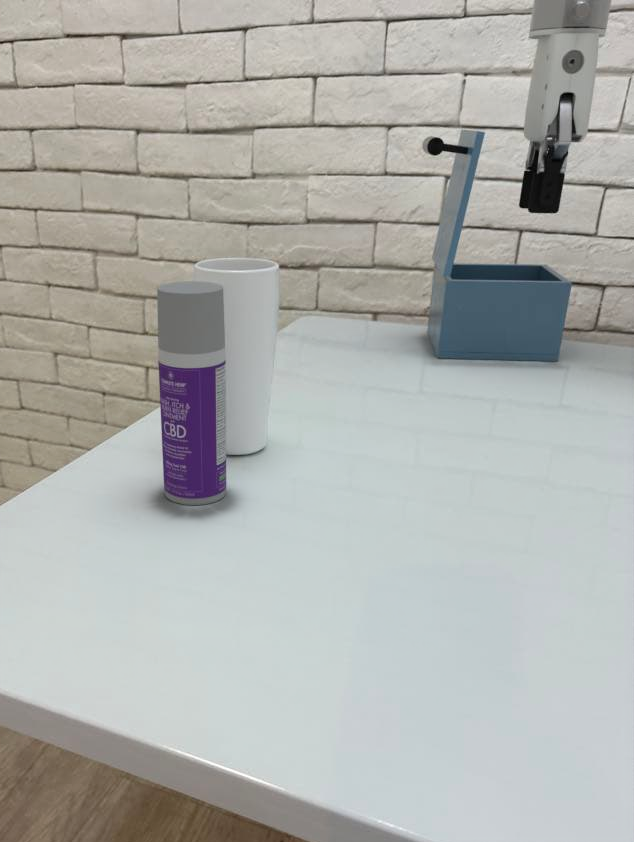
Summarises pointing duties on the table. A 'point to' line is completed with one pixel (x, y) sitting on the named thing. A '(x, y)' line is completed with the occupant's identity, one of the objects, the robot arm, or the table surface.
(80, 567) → the table surface
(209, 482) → the container
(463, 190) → the lid
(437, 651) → the table surface
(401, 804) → the table surface
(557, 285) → the blue storage box
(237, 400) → the drinking glass
